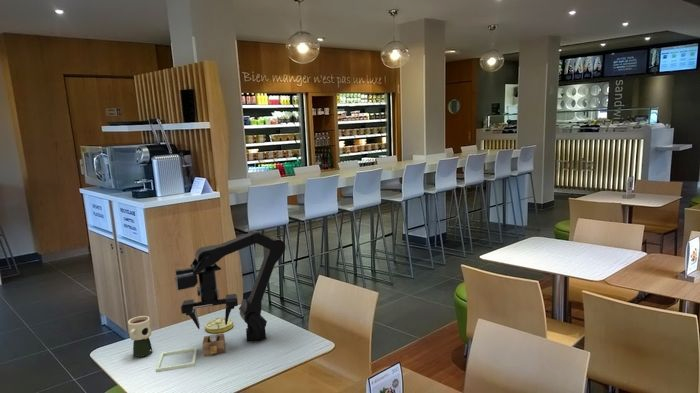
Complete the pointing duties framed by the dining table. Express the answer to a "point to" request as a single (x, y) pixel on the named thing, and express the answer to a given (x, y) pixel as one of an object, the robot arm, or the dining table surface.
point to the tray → (159, 369)
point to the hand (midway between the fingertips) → (212, 326)
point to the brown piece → (214, 345)
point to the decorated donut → (218, 325)
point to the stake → (212, 338)
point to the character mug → (140, 335)
